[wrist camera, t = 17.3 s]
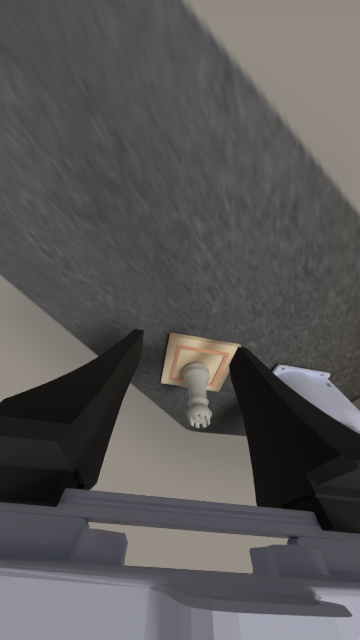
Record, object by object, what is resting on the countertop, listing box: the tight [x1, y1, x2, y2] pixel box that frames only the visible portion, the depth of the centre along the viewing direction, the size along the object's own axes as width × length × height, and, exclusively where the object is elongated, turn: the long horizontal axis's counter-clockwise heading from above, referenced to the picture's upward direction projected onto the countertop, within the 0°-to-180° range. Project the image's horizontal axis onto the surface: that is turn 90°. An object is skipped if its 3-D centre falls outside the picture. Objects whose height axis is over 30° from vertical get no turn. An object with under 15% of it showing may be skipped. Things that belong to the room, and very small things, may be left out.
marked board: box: [161, 332, 241, 392], centre depth 24 cm, size 11×11×1 cm
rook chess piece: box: [183, 362, 212, 428], centre depth 21 cm, size 4×4×8 cm
